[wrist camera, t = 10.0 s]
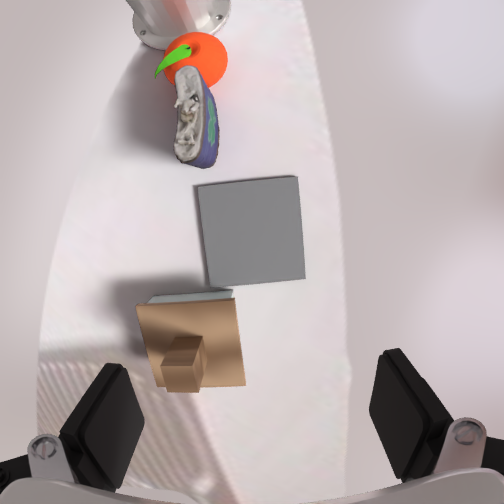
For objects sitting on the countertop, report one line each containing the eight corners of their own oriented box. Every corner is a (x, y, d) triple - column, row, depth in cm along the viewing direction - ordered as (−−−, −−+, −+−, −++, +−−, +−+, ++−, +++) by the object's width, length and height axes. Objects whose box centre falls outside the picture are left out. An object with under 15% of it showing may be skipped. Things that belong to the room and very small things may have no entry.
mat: (198, 186, 33) (197, 187, 33) (297, 176, 33) (297, 176, 32) (211, 286, 36) (210, 287, 35) (304, 277, 35) (305, 279, 35)
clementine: (178, 113, 31) (160, 97, 24) (155, 70, 30) (134, 47, 23) (240, 81, 31) (237, 56, 24) (214, 38, 29) (205, 9, 22)
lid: (137, 303, 32) (113, 329, 25) (234, 297, 32) (229, 326, 25) (158, 383, 34) (143, 417, 28) (245, 381, 34) (243, 419, 27)
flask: (193, 93, 31) (168, 58, 20) (218, 90, 31) (203, 53, 20) (194, 170, 33) (167, 163, 22) (220, 168, 33) (204, 160, 22)
